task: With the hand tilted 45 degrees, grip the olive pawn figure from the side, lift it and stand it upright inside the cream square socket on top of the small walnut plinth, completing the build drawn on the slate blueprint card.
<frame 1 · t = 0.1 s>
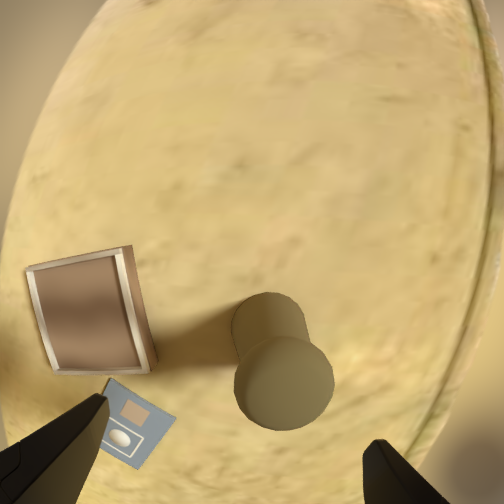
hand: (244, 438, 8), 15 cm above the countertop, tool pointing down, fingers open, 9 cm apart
olive pawn figure: (268, 327, 24), on the countertop
blueprint card: (125, 428, 24), on the countertop
walnut plinth: (93, 311, 23), on the countertop
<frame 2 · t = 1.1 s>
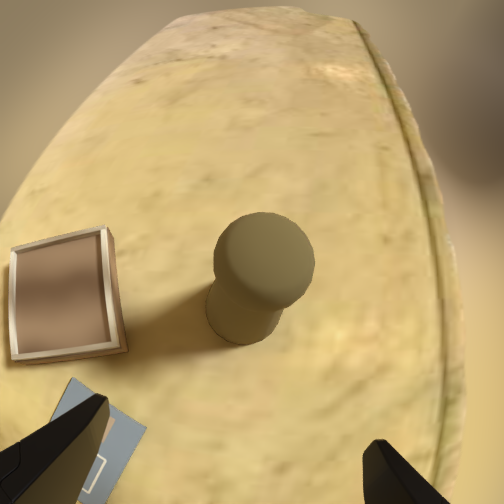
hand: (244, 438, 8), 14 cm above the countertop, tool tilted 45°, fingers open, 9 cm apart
olive pawn figure: (243, 308, 24), on the countertop
blueprint card: (83, 449, 17), on the countertop
walnut plinth: (66, 301, 21), on the countertop
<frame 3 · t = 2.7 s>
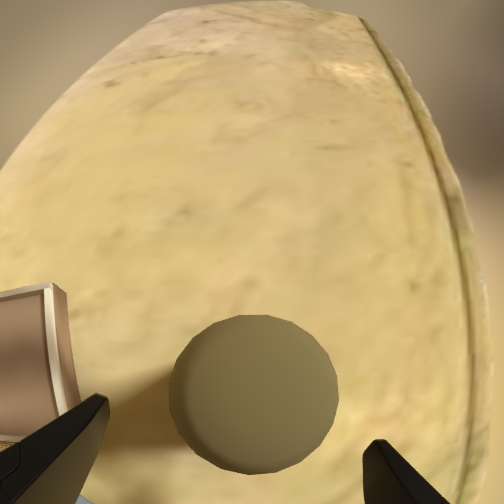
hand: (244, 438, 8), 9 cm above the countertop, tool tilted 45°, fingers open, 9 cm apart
olive pawn figure: (231, 391, 17), on the countertop
walnut plinth: (17, 370, 14), on the countertop
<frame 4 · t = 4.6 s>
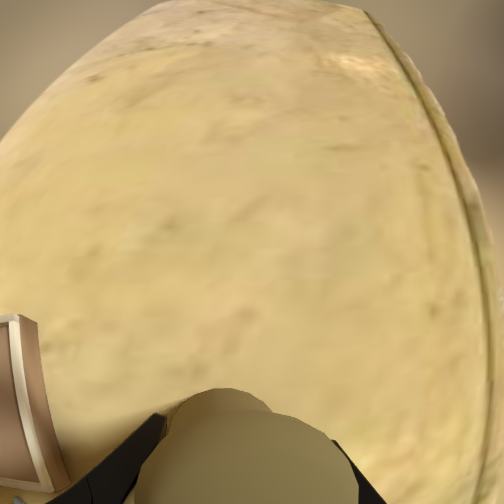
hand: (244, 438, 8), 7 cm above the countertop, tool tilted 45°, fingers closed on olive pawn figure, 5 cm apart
olive pawn figure: (224, 440, 13), on the countertop, touching gripper
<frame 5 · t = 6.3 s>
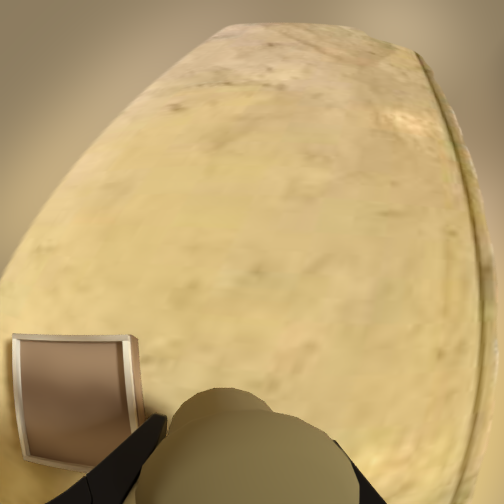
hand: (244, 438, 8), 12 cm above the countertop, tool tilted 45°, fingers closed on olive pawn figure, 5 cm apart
olive pawn figure: (225, 440, 13), point 5 cm above the countertop, touching gripper
walnut plinth: (81, 403, 17), on the countertop
when the fingers open (10 cm above the countertop, at t = 8.1 s): olive pawn figure drops 1 cm, resting on walnut plinth.
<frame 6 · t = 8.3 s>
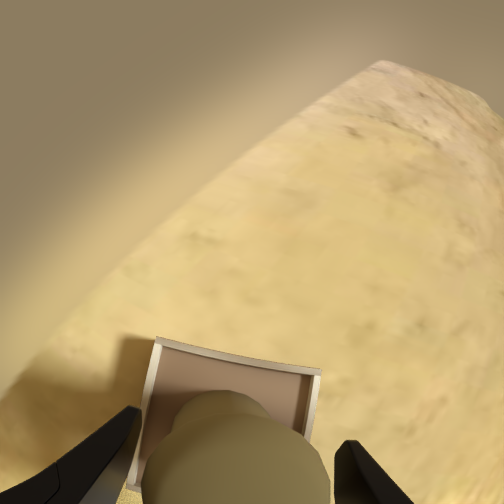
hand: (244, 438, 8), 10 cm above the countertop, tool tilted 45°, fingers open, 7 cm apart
olive pawn figure: (223, 438, 15), point 2 cm above the countertop, touching walnut plinth
walnut plinth: (222, 431, 16), on the countertop
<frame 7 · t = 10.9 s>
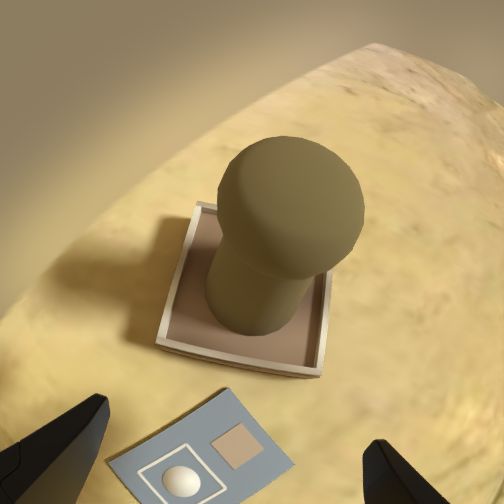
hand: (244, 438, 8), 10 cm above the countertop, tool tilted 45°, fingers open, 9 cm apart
olive pawn figure: (252, 289, 19), point 2 cm above the countertop, touching walnut plinth
blueprint card: (200, 469, 15), on the countertop
walnut plinth: (249, 295, 21), on the countertop
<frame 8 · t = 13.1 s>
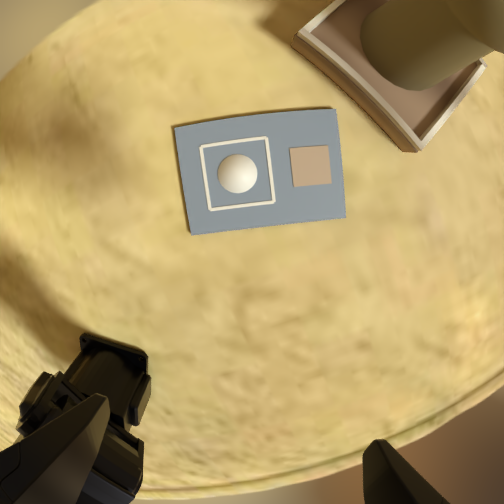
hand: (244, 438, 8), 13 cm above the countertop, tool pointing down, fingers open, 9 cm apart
olive pawn figure: (403, 48, 13), point 2 cm above the countertop, touching walnut plinth
blueprint card: (262, 170, 18), on the countertop
walnut plinth: (393, 53, 15), on the countertop
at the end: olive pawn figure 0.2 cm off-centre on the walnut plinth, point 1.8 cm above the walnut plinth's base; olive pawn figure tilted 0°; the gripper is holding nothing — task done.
